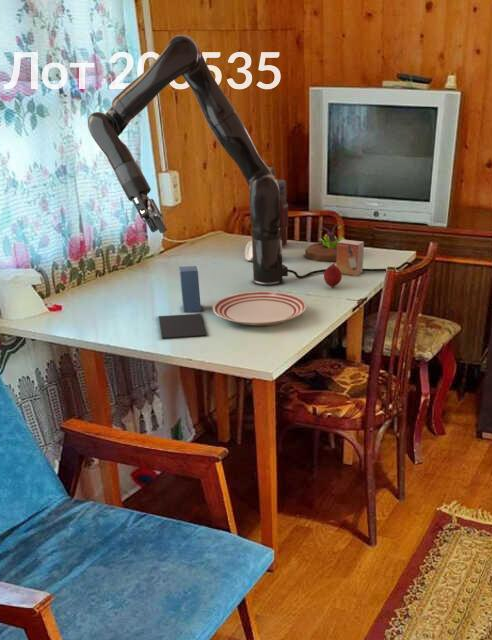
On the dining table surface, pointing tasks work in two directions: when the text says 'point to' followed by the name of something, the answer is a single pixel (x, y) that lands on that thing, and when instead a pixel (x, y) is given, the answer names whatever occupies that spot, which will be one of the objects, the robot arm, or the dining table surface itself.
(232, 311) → the dinner plate
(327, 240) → the plant
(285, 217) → the toy vending machine
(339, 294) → the dining table surface
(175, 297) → the dining table surface
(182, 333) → the mat
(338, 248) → the small box
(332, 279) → the onion
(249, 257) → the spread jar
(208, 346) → the dining table surface
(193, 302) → the blue block
